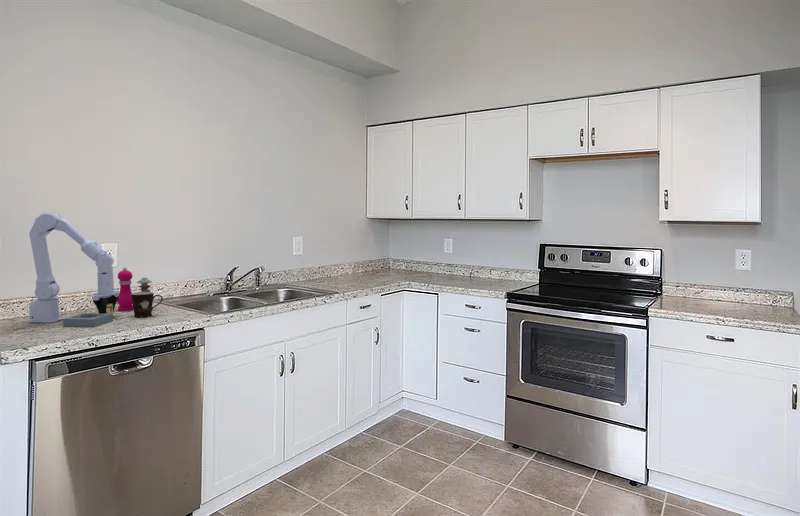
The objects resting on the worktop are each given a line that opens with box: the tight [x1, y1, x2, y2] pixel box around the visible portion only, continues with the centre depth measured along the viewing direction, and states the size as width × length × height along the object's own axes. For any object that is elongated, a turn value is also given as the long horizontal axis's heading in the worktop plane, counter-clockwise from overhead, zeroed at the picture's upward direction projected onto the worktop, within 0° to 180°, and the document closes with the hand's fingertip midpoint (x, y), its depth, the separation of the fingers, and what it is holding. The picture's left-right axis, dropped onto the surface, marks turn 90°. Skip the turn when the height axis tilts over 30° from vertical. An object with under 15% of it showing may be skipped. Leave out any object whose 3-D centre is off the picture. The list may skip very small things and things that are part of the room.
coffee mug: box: [131, 291, 164, 318], centre depth 211 cm, size 12×9×10 cm
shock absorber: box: [136, 277, 153, 292], centre depth 224 cm, size 6×6×15 cm
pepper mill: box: [116, 266, 134, 312], centre depth 224 cm, size 7×7×20 cm
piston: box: [106, 303, 114, 316], centre depth 206 cm, size 5×5×6 cm
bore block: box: [62, 312, 114, 328], centre depth 194 cm, size 12×12×3 cm
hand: (106, 314), depth 206 cm, fingers closed on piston, 5 cm apart
